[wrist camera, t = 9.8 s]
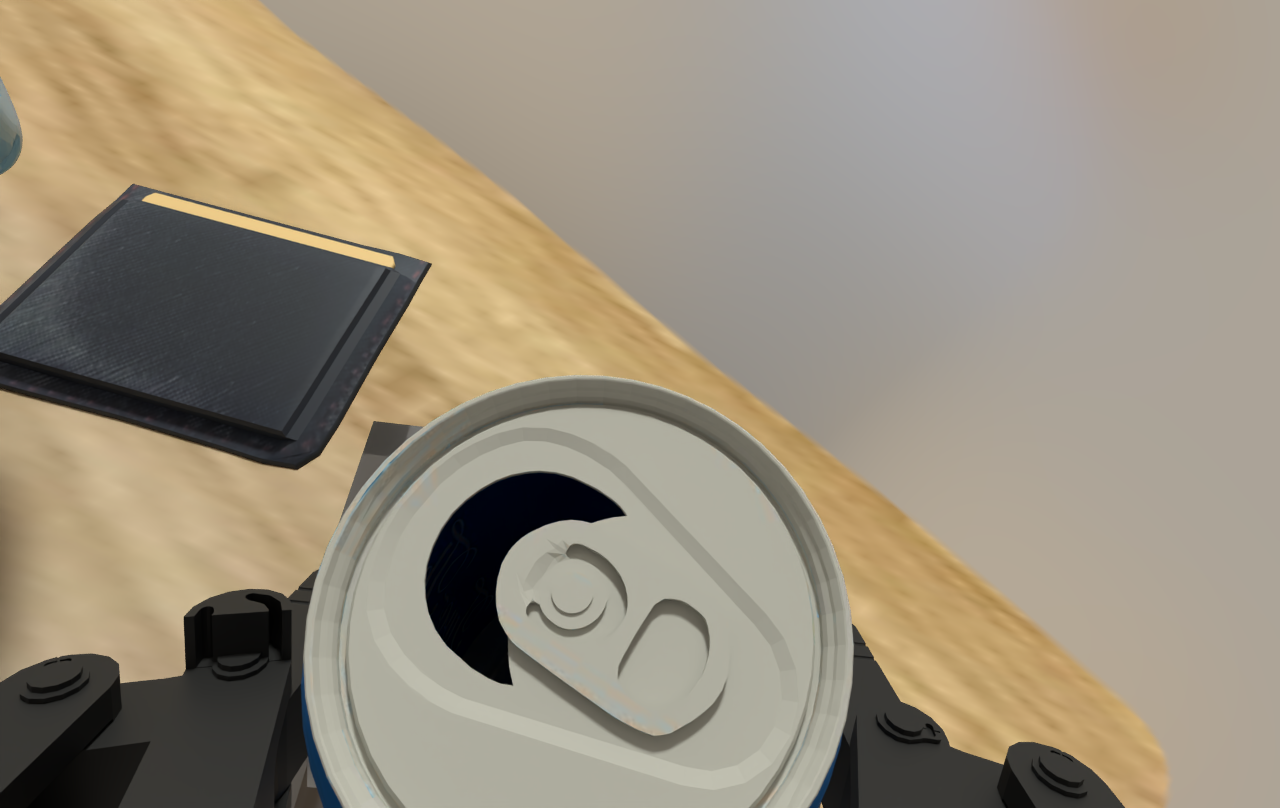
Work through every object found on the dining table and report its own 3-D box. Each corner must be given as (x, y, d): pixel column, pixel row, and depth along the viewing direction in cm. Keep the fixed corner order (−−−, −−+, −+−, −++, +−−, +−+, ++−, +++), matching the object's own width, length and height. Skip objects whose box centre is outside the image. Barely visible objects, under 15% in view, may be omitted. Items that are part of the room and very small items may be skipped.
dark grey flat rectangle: (-89, 352, 31) (128, 160, 39) (-57, 373, 33) (145, 185, 41) (292, 473, 30) (436, 251, 38) (306, 489, 32) (441, 273, 40)
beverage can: (546, 551, 19) (526, 271, 9) (737, 676, 18) (968, 515, 8) (392, 763, 16) (89, 703, 6) (611, 933, 15) (719, 1246, 4)
